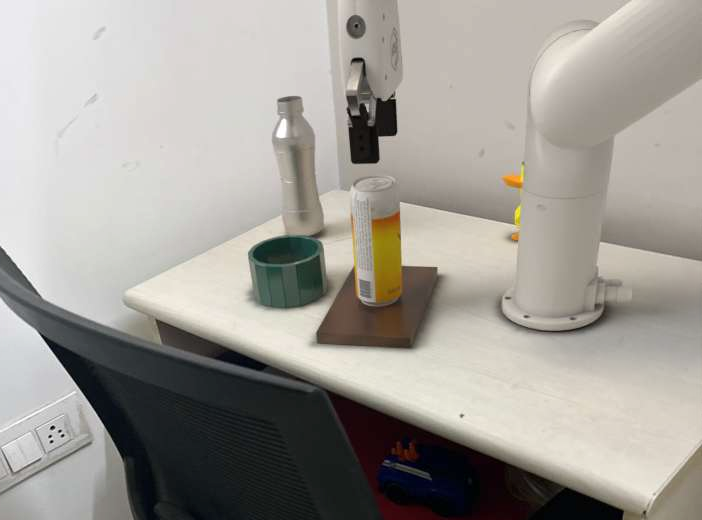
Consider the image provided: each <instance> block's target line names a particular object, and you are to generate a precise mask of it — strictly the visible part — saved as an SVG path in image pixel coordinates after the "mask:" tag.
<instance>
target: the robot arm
mask: <svg viewBox="0 0 702 520" xmlns="http://www.w3.org/2000/svg"><path fill="white" fill-rule="evenodd" d="M400 26H401V25H400V14H399V4H398V0H337V28H338V30H337V31H338V49H339V50H338V51H339V64H340V65H339V67H340V79H341V86H342V94H343V97H344V99H345V101H346V103H347V107H346V114H347V121H346V122H347V127H348V128H347V130H348V138H349V139H348V142H349V152H350V154H349V155H350V162H351V163H352V164H353V165H375V164H376V165H377V164H378V163H379V161H380V160H381V158H380V157H381V154H380V139H379V138H380V137H381V138H382V137H395V136H397V134H398V114H397V113H398V111H397V110H398V109H397V108H398V107H397V98H396V90H397V89H398V88H399V86H400V85H401V84H402V81H403V78H404V66H403V53H402V52H403V51H402V40H401V28H400ZM533 55H534V56H533V58H532V61H531V64H530V68H529V74H528V80H527V101H526V102H527V104H526V106H527V107H526V123H525V124H526V125H525V141H524V142H525V143H524V157H523V161H524V171H523V183H522V196H521V195H520V204H521V210H520V224H519V229H518V232H519V238H518V240H517V254H516V268H515V284H514V285H513V286H511V287H510V288H509V289H507V290H506V291H505V292H504V294H503V295H502V297H501V304H500V305H501V306H500V307H501V311H502V313H503V315H504V316H505V317H506V319H509V320H510V321H512V322H513V323H515V324H517V325H520V326H522V327H525V328H528V329H531V330H532V329H533V330H538V331H548V332H549V331H550V332H556V331H559V332H560V331H569V330H575V329H579V328H582V327H586V326H588V325H590V324H592V323H594V322H595V321H597V320H598V319H600V317H601V316H602V314H603V312H604V308H605V302H615V303H629V304H630V303H632V299H633V293H634V286H630V285H623V279H622V278H619V279H618V278H611V279H607V278H603V276H599V266H598V259H599V253H600V244H601V239H602V238H601V237H602V231H603V225H604V216H605V209H606V203H607V195H608V187H609V183H610V176H611V170H612V169H611V168H612V161H613V152H614V144H615V136H616V135H618V134H620V133H621V132H623V131H625V130H626V129H627V128H629V127H631V126H632V125H634V124H635V123H637V122H638V121H640V120H642V119H643V118H645V117H646V116H648V115H650V114H651V113H652V112H654V111H656V110H657V109H658V108H660V107H661V106H663V105H664V104H666V103H667V102H669V101H671V100H672V99H673V98H675V97H677V96H678V95H679V94H682V93H683V92H684V91H686V90H688V89H689V88H690V87H692V86H694V85H695V84H696V83H698V82H699V81H701V80H702V0H628V2H627V3H626V4H624V5H623V6H622V7H621V8H619V9H618V10H616V11H615V12H614V13H612V14H611V15H610V16H608V17H607V18H605V20H603V21H602V22H598V21H594V20H590V19H576V20H572V21H568V22H566V23H563V24H561V25H560V26H558V27H556V28H555V29H554V30H552V31H551V32H550V33H549V34H547V36H546V37H545V38H544V39H543V41H542V42H541V43H540V44H539V46H538V48H537V49H536V51H535V54H533ZM366 105H368V107H367V106H366Z"/></svg>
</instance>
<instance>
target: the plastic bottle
mask: <svg viewBox="0 0 702 520" xmlns="http://www.w3.org/2000/svg"><path fill="white" fill-rule="evenodd" d="M303 105H304V104H303V98H302V96H300V95H288V96H287V95H286V96H283V97H279V98H277V99H276V106H277V107H276V108H277V110H276V113H277V115H278V116H279V118H278V120H277V122H276V124H275V125H274V129H273V131H272V134H271V145H272V148H273V151H274V156H275V158H276V163H277V167H278V171H279V176H280V183H281V194H282V211H281V216H282V224H283V227H284V230H285V231H286V232H287V233H288V235H305V236H309V237H312V236H314V235H317V234H318V233H320V232H321V231H322V229H323V227H324V223H325V214H324V210H323V206H322V203H321V199H320V195H319V189H318V184H317V175H316V134H315V132H314V129H313V127H312V126H311V124H310V123H309V122H308V120H307V119H306V118H305V117H304V115H303V113H304V112H305V109H304V106H303Z"/></svg>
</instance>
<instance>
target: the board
mask: <svg viewBox="0 0 702 520" xmlns="http://www.w3.org/2000/svg"><path fill="white" fill-rule="evenodd" d="M438 271H439V269H438V266H424V265H423V266H421V265H419V266H418V265H402V294H401V295H400V296H399V298H398V300H397V301H396V302H394V303H392V304H390V305H386V306H369V305H366V304H364V303H363V302H362V301H361V299H359V298H358V297H357V294H356V281H355V267H354V266H353V267H352V269H351V270H350V272H349V274H348V276H347V278H346V279H345V281H344V283H343V284H342V286H341V288H340V289H339V291H338V293H337V295H336V297H335V298H334V300H333V302H332V304H331V306H330V307H329V309H328V311H327V313H326V314H325V315H324V318H323V319H322V322H321V323H320V325H319V326H318V329H317V330H316V332H315V334H316V343H317V344H329V345H344V346H345V345H346V346H347V345H348V346H364V347H379V348H397V349H399V348H400V349H411V348H412V345H413V342H414V340H415V337H416V335H417V331H418V330H419V327H420V324H421V322H422V319H423V316H424V313H425V310H426V308H427V306H428V303H429V300H430V298H431V295H432V293H433V290H434V287H435V285H436V282H437V280H438Z"/></svg>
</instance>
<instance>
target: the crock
mask: <svg viewBox="0 0 702 520" xmlns="http://www.w3.org/2000/svg"><path fill="white" fill-rule="evenodd" d="M247 260H248V265H249V271H250V277H251V283H252V289H253V295H254V299H255V300H256V301H257V302H258V303H260V305H263V306H266V307H270V308H276V309H277V308H278V309H288V308H295V307H301V306H302V307H303V306H305V305H308V304H311V303H314V302H317V300H319V299H320V298H322V297H323V296H324V295H325V294H326V292H327V291H328V288H329V287H328V277H327V269H326V268H327V267H326V258H325V249H324V243H323V242H322V241H321V240H319V239H317V237H314V236H305V235H290V234H286V235H279V236H274V237H271V238H270V237H269V238H267V239H264V240H262V241H260V242H258V243H256V244H254V245H253V246H252V247H250V249H249V250H248V251H247Z"/></svg>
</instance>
